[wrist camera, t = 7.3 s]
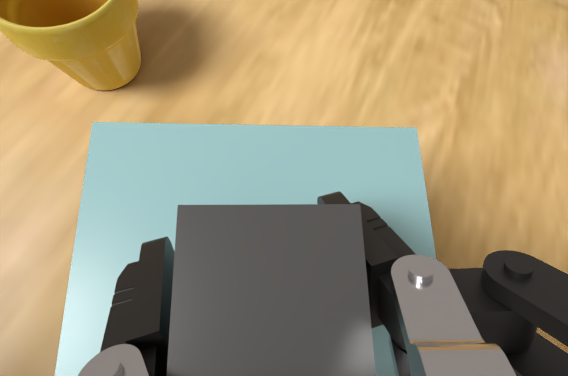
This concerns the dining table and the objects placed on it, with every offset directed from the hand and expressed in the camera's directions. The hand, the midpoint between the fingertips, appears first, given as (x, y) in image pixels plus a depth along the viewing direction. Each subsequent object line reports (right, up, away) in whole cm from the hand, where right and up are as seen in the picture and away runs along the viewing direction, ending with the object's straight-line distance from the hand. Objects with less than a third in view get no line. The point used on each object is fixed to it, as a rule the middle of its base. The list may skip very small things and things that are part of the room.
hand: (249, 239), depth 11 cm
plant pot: (-16, +14, +22) cm, 31 cm away
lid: (0, -3, +4) cm, 5 cm away
